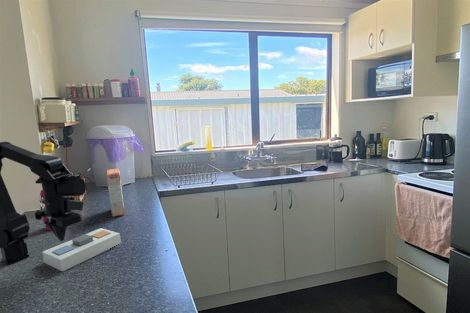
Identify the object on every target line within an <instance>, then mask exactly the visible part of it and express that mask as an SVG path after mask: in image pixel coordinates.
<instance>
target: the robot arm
mask: <svg viewBox="0 0 470 313" xmlns="http://www.w3.org/2000/svg"><path fill="white" fill-rule="evenodd" d="M3 159H7V160H10V161H12V162H15V163H18V164H21V165H23V166H26V167H27V168H29V170H30V171H31V172H32V173H33V174H35V175H36V176H38V179H36V180H35V184H41V188H42V189H43V195H44V200H43V199H42V200H41V203H42V204H44V208H41V209H38V210H36V211H35V213H34V216H35V217H34V218H35V219H36V220H38V221H40V220H43V217H44V216H45V218H46V219H47V221H46V222H43V223H44V224H45V226H46V225H47V226H48V227H49V228H50V230H49V231H51V233H52V234H53V235H54V236H55V237H56V238H57V239H58V241H59V242H63V241H64V240H65V236H66V231H67V228H68V227H70V226H72V225H76V224H78V223H80V222H83V219H82V215H81V213H80V214H79V213H77V212H73V211H83V209H84V204H85V201H84V200H83V201H82V200H77V199H75V198H74V197H80V196H83V195H84V194H85V193H86V190H87V183H86V182H85V179H84V178H82V177H81V175H80V174H73V173H72V172H71V171H70V169H68V167H67V166H66V165H65V164H64V163H63V162H62V159H61V158H60V157H58V156H56V155H55V156H54V155H50V154H48V155H46V154H38V153H35V152H33V151H30V150H28V149H24V148H22V147H19V146H17V145H15V144H12V142H10V141H6V140H5V141H0V252H1V257H2V258H1V259H0V261H1V262H3V263H4V264H7V265H12V264H14V263H16V262H19V261H22V260H24V259H27V258H29V257H30V255H29V250H28V244H27V242H25V239H27V238H28V237H29V232H30V224H31V223H30V222H29V220H28V218H27V215H26V214H20V213H19V212H17V211H16V208H15V206H14V203H13V201H12V198H11V196H10V193H9V191H8V188H7V186H6V183H5V181H4V178H3V176H2V174H1V173H2V170H3V165H4V164H3ZM42 189H41V190H42ZM45 206H46V208H45Z"/></svg>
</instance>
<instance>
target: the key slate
mask: <svg viewBox="0 0 470 313" xmlns="http://www.w3.org/2000/svg"><path fill="white" fill-rule="evenodd" d="M71 250H74V248H72V247H69V246H67V245H66V246H64V247H61V248H59V249H56V250H54V251H52V253H53V254H56V255H58V256H60V255H62V254H65V253H67V252H69V251H71Z"/></svg>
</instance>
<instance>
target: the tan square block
mask: <svg viewBox="0 0 470 313" xmlns="http://www.w3.org/2000/svg"><path fill="white" fill-rule="evenodd" d="M108 234H110V232H107V231H103V230H102V231H100V232H98V233H95V234H93V235H91V236H92V237H95V238H98V239H99V238H101V237H104V236H106V235H108Z"/></svg>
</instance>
